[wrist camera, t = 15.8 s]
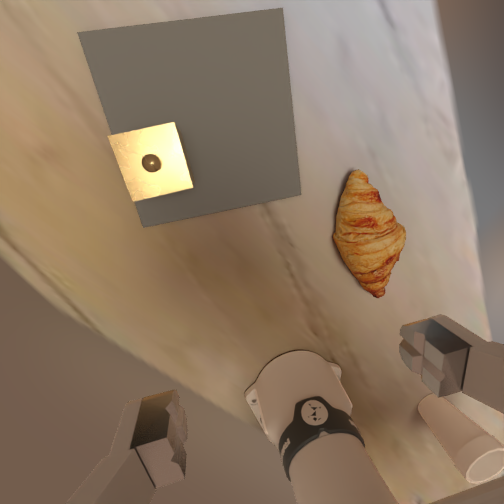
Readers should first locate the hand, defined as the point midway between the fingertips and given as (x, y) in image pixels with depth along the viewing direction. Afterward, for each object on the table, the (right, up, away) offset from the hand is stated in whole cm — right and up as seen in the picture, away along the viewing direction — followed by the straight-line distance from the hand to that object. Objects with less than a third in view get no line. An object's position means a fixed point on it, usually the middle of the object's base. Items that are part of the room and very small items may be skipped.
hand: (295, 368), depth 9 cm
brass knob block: (-12, +15, +23) cm, 30 cm away
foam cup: (+39, -31, +50) cm, 71 cm away
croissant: (+16, +7, +32) cm, 37 cm away
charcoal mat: (-7, +20, +23) cm, 31 cm away
